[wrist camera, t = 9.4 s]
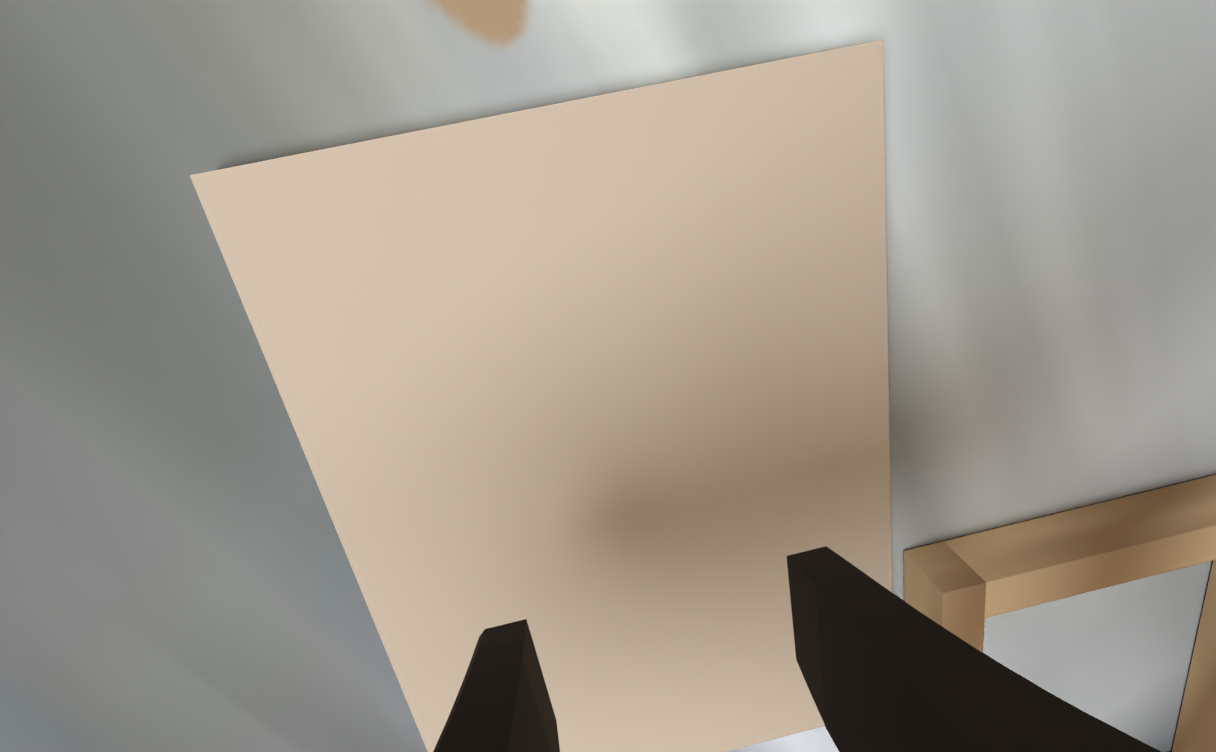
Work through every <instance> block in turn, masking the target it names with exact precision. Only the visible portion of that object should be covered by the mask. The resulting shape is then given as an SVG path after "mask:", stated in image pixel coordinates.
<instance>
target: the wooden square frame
mask: <svg viewBox="0 0 1216 752" xmlns="http://www.w3.org/2000/svg"><path fill="white" fill-rule="evenodd" d="M1212 560H1213V564H1212V569H1211V573H1210V578H1209V582H1208V587H1207V592H1206V596H1205V601H1204V605H1203V610H1202V615H1201V619H1200V624H1199V628H1198V633H1197V638H1196V642H1195V647H1194V652H1193V656H1192V661H1191V665H1190V670H1189V675H1188V679H1187V684H1186V688H1185V693H1184V698H1183V702H1182V707H1181V711H1180V716H1179V721H1178V725H1177V730H1176V735H1175V739H1174V744H1173V748H1172V752H1216V475H1213V476H1209V477H1204V478H1200V479H1196V480H1192V481H1188V482H1184V483H1180V484H1176V485H1172V486H1168V487H1164V488H1160V489H1155V490H1151V491H1147V492H1143V493H1139V494H1135V495H1131V496H1127V497H1123V498H1119V499H1115V500H1111V501H1106V502H1102V503H1098V504H1094V505H1090V506H1086V507H1082V508H1078V509H1074V510H1070V511H1066V512H1062V513H1057V514H1053V515H1049V516H1045V517H1041V518H1037V519H1033V520H1029V521H1025V522H1021V523H1017V524H1013V525H1008V526H1004V527H1000V528H996V529H992V530H988V531H984V532H980V533H976V534H972V535H968V536H964V537H959V538H955V539H951V540H947V541H943V542H939V543H935V544H931V545H927V546H923V547H919V548H915V549H910V550H906V551H904V601H905V602H906V603H908V604H909V605H911V606H912V607H914V608H915V609H917V610H918V611H920V612H921V613H922V614H924V615H925V616H927V617H928V618H930V619H931V620H933V621H935V622H936V623H938V624H939V625H941V626H942V627H944V628H945V629H947V630H948V631H950V632H951V633H953V634H954V635H956V636H957V637H959V638H961V639H962V640H964V641H965V642H967V643H968V644H970V645H971V646H973V647H974V648H976V649H978V650H979V651H981V652H982V653H983V637H984V618H986V617H990V616H994V615H998V614H1002V613H1006V612H1010V611H1014V610H1018V609H1022V608H1026V607H1030V606H1034V605H1038V604H1042V603H1046V602H1050V601H1054V600H1058V599H1062V598H1065V597H1069V596H1073V595H1077V594H1081V593H1085V592H1089V591H1093V590H1097V589H1101V588H1105V587H1109V586H1113V585H1117V584H1121V583H1125V582H1129V581H1133V580H1137V579H1140V578H1144V577H1148V576H1152V575H1156V574H1160V573H1164V572H1168V571H1172V570H1176V569H1180V568H1184V567H1188V566H1192V565H1196V564H1200V563H1204V562H1208V561H1212Z"/></svg>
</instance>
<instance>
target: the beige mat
mask: <svg viewBox="0 0 1216 752" xmlns="http://www.w3.org/2000/svg"><path fill="white" fill-rule="evenodd" d="M190 177H191V179H192V182H193V184H194V187H195V189H196V191H197V194H198V196H199V199H200V201H201V204H202V206H203V208H204V211H205V213H206V216H207V218H208V221H209V223H210V225H211V228H212V230H213V233H214V235H215V238H216V240H217V242H218V245H219V247H220V250H221V252H222V254H223V257H224V259H225V262H226V264H227V267H228V269H229V271H230V274H231V276H232V279H233V281H234V284H235V286H236V288H237V291H238V293H239V296H240V298H241V300H242V303H243V305H244V308H245V310H246V313H247V315H248V317H249V320H250V322H251V325H252V327H253V330H254V332H255V334H256V337H257V339H258V342H259V344H260V347H261V349H262V351H263V354H264V356H265V359H266V361H267V363H268V366H269V368H270V371H271V373H272V376H273V378H274V380H275V383H276V385H277V388H278V390H279V393H280V395H281V397H282V400H283V402H284V405H285V407H286V410H287V412H288V414H289V417H290V419H291V422H292V424H293V426H294V429H295V431H296V434H297V436H298V439H299V441H300V443H301V446H302V448H303V451H304V453H305V456H306V458H307V460H308V463H309V465H310V468H311V470H312V472H313V475H314V477H315V480H316V482H317V485H318V487H319V489H320V492H321V494H322V497H323V499H324V502H325V504H326V506H327V509H328V511H329V514H330V516H331V519H332V521H333V523H334V526H335V528H336V531H337V533H338V535H339V538H340V540H341V543H342V545H343V548H344V550H345V552H346V555H347V557H348V560H349V562H350V565H351V567H352V569H353V572H354V574H355V577H356V579H357V582H358V584H359V586H360V589H361V591H362V594H363V596H364V598H365V601H366V603H367V606H368V608H369V611H370V613H371V615H372V618H373V620H374V623H375V625H376V628H377V630H378V632H379V635H380V637H381V640H382V642H383V644H384V647H385V649H386V652H387V654H388V657H389V659H390V661H391V664H392V666H393V669H394V671H395V674H396V676H397V678H398V681H399V683H400V686H401V688H402V691H403V693H404V695H405V698H406V700H407V703H408V705H409V707H410V710H411V712H412V715H413V717H414V720H415V722H416V724H417V727H418V729H419V732H420V734H421V737H422V739H423V741H424V744H425V746H426V749H427V751H428V752H433V751H434V749H435V746H436V744H437V742H438V740H439V737H440V735H441V733H442V731H443V728H444V726H445V724H446V722H447V719H448V717H449V714H450V712H451V710H452V707H453V705H454V702H455V700H456V697H457V695H458V692H459V690H460V687H461V685H462V682H463V680H464V677H465V675H466V672H467V669H468V667H469V664H470V661H471V658H472V656H473V653H474V650H475V647H476V644H477V642H478V639H479V636H480V635H481V634H482V632H483V631H484V630H485V629H487V628H491V627H495V626H500V625H504V624H508V623H512V622H516V621H520V620H524V619H527V623H528V626H529V630H530V633H531V636H532V640H533V643H534V646H535V650H536V653H537V657H538V660H539V663H540V667H541V670H542V673H543V677H544V680H545V684H546V687H547V690H548V694H549V697H550V700H551V704H552V707H553V711H554V714H555V717H556V721H557V730H558V738H559V747H560V752H726V751H730V750H733V749H737V748H741V747H745V746H749V745H753V744H757V743H760V742H764V741H768V740H772V739H776V738H780V737H784V736H787V735H791V734H795V733H799V732H803V731H807V730H811V729H814V728H818V727H822V726H825V724H824V722H823V720H822V718H821V715H820V713H819V711H818V709H817V706H816V704H815V702H814V700H813V698H812V695H811V693H810V691H809V688H808V686H807V684H806V681H805V679H804V677H803V674H802V672H801V670H800V667H799V665H798V663H797V660H796V652H795V641H794V631H793V620H792V609H791V599H790V588H789V577H788V567H787V556H788V555H792V554H796V553H800V552H805V551H809V550H813V549H817V548H821V547H825V546H827V547H828V548H830V549H831V550H832V551H834V552H835V553H837V554H838V555H840V556H841V557H843V558H844V559H845V560H847V561H848V562H850V563H851V564H852V565H854V566H855V567H857V568H858V569H859V570H861V571H862V572H864V573H865V574H866V575H868V576H869V577H871V578H872V579H874V580H875V581H876V582H878V583H879V584H881V585H882V586H883V587H885V588H886V589H888V590H889V591H891V592H892V548H891V490H890V432H889V374H888V317H887V259H886V201H885V143H884V86H883V40H879V41H874V42H869V43H863V44H858V45H853V46H848V47H843V48H838V49H833V50H828V51H823V52H817V53H812V54H807V55H802V56H797V57H792V58H787V59H782V60H777V61H771V62H766V63H761V64H756V65H751V66H746V67H741V68H736V69H731V70H726V71H720V72H715V73H710V74H705V75H700V76H695V77H690V78H685V79H680V80H674V81H669V82H664V83H659V84H654V85H649V86H644V87H639V88H634V89H628V90H623V91H618V92H613V93H608V94H603V95H598V96H593V97H588V98H582V99H577V100H572V101H567V102H562V103H557V104H552V105H547V106H542V107H537V108H531V109H526V110H521V111H516V112H511V113H506V114H501V115H496V116H491V117H485V118H480V119H475V120H470V121H465V122H460V123H455V124H450V125H445V126H439V127H434V128H429V129H424V130H419V131H414V132H409V133H404V134H399V135H393V136H388V137H383V138H378V139H373V140H368V141H363V142H358V143H353V144H348V145H342V146H337V147H332V148H327V149H322V150H317V151H312V152H307V153H302V154H296V155H291V156H286V157H281V158H276V159H271V160H266V161H261V162H256V163H250V164H245V165H240V166H235V167H230V168H225V169H220V170H215V171H210V172H204V173H199V174H194V175H190Z"/></svg>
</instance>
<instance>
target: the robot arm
mask: <svg viewBox="0 0 1216 752" xmlns="http://www.w3.org/2000/svg"><path fill="white" fill-rule="evenodd" d="M787 567H788V577H789V588H790V599H791V609H792V620H793V631H794V641H795V652H796V660H797V663H798V665H799V667H800V670H801V672H802V674H803V677H804V679H805V681H806V684H807V686H808V688H809V691H810V693H811V695H812V698H813V700H814V702H815V704H816V706H817V709H818V711H819V713H820V715H821V718H822V720H823V722H824V724H825V726H826V729H827V730H828V732H829V734H830V736H831V738H832V739H833V741H834V743H835V745H836V746H837V748H838V750H839V752H1161V751H1159V750H1157V749H1155V748H1153V747H1151V746H1149V745H1147V744H1145V743H1143V742H1141V741H1139V740H1137V739H1135V738H1133V737H1131V736H1129V735H1127V734H1126V733H1124V732H1122V731H1120V730H1118V729H1116V728H1114V727H1112V726H1110V725H1108V724H1106V723H1104V722H1102V721H1101V720H1099V719H1097V718H1095V717H1093V716H1091V715H1089V714H1087V713H1085V712H1083V711H1081V710H1080V709H1078V708H1076V707H1074V706H1072V705H1071V704H1069V703H1067V702H1065V701H1063V700H1061V699H1060V698H1058V697H1056V696H1054V695H1052V694H1051V693H1049V692H1047V691H1045V690H1044V689H1042V688H1040V687H1039V686H1037V685H1035V684H1034V683H1032V682H1030V681H1029V680H1027V679H1025V678H1024V677H1022V676H1020V675H1018V674H1017V673H1015V672H1013V671H1012V670H1010V669H1008V668H1007V667H1005V666H1003V665H1002V664H1000V663H998V662H997V661H995V660H994V659H992V658H990V657H989V656H987V655H986V654H984V653H982V652H981V651H979V650H978V649H976V648H974V647H973V646H971V645H970V644H968V643H967V642H965V641H964V640H962V639H961V638H959V637H957V636H956V635H954V634H953V633H951V632H950V631H948V630H947V629H945V628H944V627H942V626H941V625H939V624H938V623H936V622H935V621H933V620H931V619H930V618H928V617H927V616H925V615H924V614H922V613H921V612H920V611H918V610H917V609H915V608H914V607H912V606H911V605H909V604H908V603H906V602H905V601H903V600H902V599H901V598H899V597H898V596H896V595H895V594H893V593H892V592H891V591H889V590H888V589H886V588H885V587H883V586H882V585H881V584H879V583H878V582H876V581H875V580H874V579H872V578H871V577H869V576H868V575H866V574H865V573H864V572H862V571H861V570H859V569H858V568H857V567H855V566H854V565H852V564H851V563H850V562H848V561H847V560H845V559H844V558H843V557H841V556H840V555H838V554H837V553H835V552H834V551H832V550H831V549H830V548H828V547H827V546H825V547H821V548H817V549H813V550H809V551H805V552H800V553H796V554H792V555H788V556H787ZM433 752H560V747H559V738H558V730H557V721H556V717H555V714H554V711H553V707H552V704H551V700H550V697H549V694H548V690H547V687H546V684H545V680H544V677H543V673H542V670H541V667H540V663H539V660H538V657H537V653H536V650H535V646H534V643H533V640H532V636H531V633H530V630H529V626H528V623H527V619H524V620H520V621H516V622H512V623H508V624H504V625H500V626H495V627H491V628H487V629H485V630H484V631H483V632H482V634H481V635H480V636H479V639H478V642H477V644H476V647H475V650H474V653H473V656H472V658H471V661H470V664H469V667H468V669H467V672H466V675H465V677H464V680H463V682H462V685H461V687H460V690H459V692H458V695H457V697H456V700H455V702H454V705H453V707H452V710H451V712H450V714H449V717H448V719H447V722H446V724H445V726H444V728H443V731H442V733H441V735H440V737H439V740H438V742H437V744H436V746H435V749H434V751H433Z"/></svg>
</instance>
